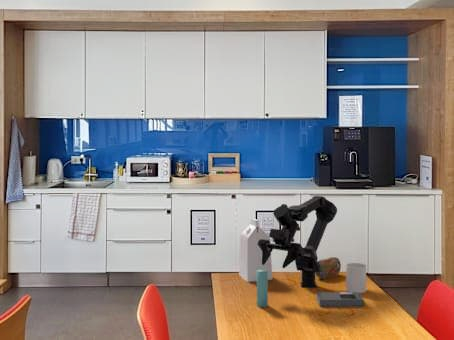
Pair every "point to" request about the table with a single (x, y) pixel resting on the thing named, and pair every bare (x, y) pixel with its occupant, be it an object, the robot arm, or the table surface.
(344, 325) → the table surface
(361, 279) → the mug
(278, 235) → the robot arm
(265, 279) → the peg
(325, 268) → the tin
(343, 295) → the flange plate
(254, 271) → the milk
